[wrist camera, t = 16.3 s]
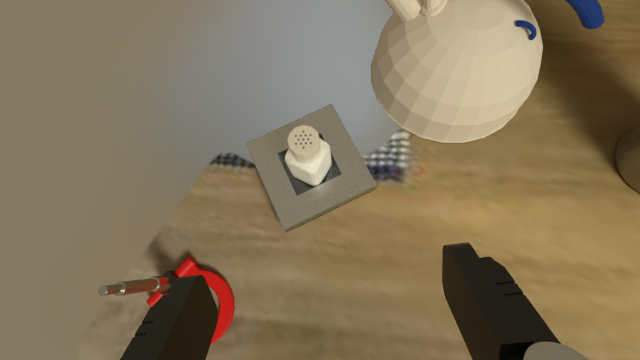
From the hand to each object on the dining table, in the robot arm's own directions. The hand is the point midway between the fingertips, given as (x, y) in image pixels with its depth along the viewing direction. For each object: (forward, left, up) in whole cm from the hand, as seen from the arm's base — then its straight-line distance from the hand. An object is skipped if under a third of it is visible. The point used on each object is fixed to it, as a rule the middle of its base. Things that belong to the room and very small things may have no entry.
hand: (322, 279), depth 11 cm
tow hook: (+16, -4, -29) cm, 33 cm away
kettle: (-25, -17, -29) cm, 42 cm away
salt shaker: (-3, -13, -28) cm, 31 cm away
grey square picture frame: (-3, -13, -28) cm, 31 cm away
